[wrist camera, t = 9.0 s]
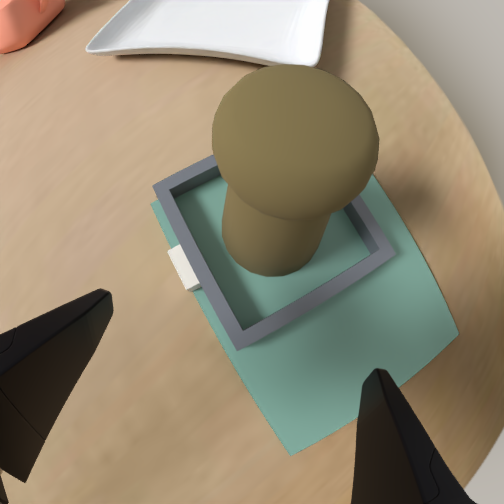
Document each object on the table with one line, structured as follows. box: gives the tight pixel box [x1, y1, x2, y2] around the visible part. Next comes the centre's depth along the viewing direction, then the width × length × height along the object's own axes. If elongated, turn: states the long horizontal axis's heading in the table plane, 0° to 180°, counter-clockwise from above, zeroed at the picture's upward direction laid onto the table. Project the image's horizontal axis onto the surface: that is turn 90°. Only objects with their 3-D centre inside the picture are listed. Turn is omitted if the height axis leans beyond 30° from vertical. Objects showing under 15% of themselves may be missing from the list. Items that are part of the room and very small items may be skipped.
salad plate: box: [86, 0, 330, 67], centre depth 22 cm, size 21×21×3 cm
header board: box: [151, 154, 459, 456], centre depth 17 cm, size 18×14×2 cm
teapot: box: [0, 0, 65, 54], centre depth 20 cm, size 12×18×10 cm, turn 74°
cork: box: [212, 64, 379, 277], centre depth 12 cm, size 6×6×11 cm
